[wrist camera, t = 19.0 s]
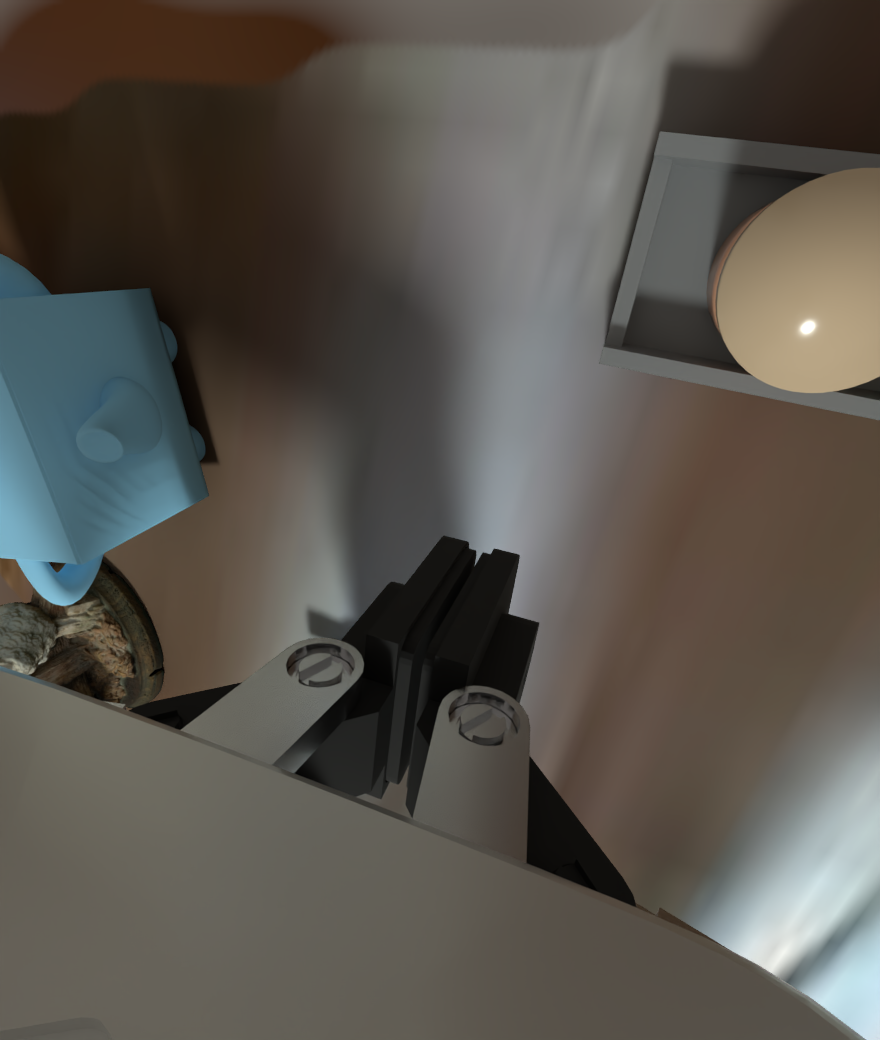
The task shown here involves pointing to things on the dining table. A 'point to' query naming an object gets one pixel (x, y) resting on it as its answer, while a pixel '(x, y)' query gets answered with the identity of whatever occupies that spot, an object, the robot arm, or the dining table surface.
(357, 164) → the dining table surface
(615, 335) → the tray
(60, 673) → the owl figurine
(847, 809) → the dining table surface
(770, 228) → the terracotta jar
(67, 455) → the teakettle
